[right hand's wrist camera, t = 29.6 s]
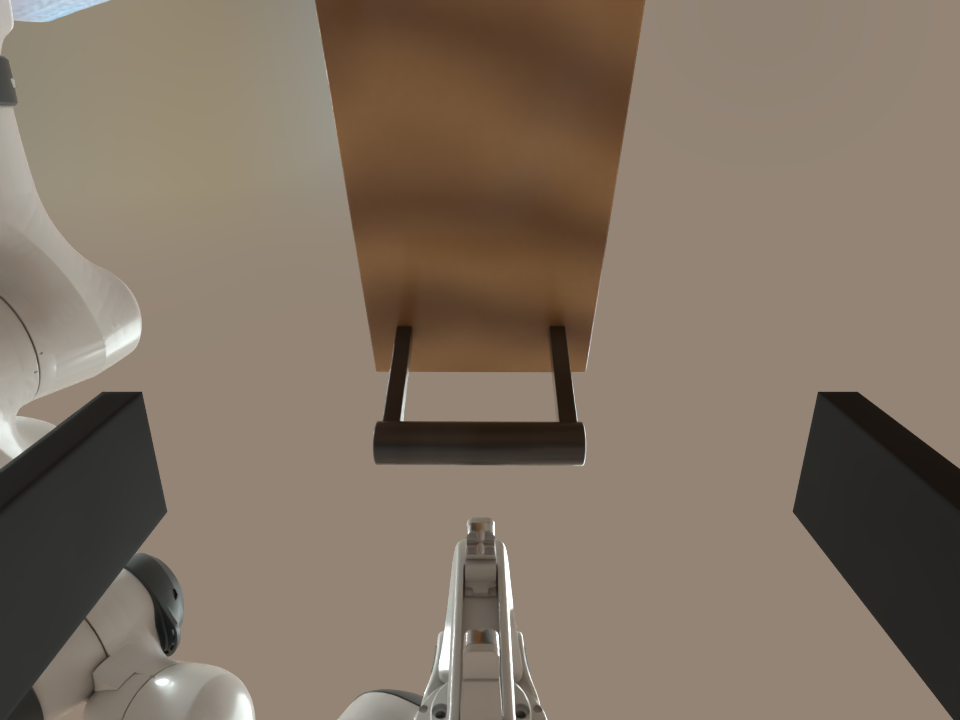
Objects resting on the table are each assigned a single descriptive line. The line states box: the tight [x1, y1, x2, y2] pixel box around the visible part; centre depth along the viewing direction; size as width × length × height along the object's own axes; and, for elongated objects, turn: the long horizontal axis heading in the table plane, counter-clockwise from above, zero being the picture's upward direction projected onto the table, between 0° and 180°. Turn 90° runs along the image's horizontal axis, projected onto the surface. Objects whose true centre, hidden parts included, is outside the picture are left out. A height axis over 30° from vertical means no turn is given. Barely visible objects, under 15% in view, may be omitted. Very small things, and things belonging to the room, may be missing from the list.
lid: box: [315, 0, 645, 466], centre depth 22 cm, size 16×10×8 cm
